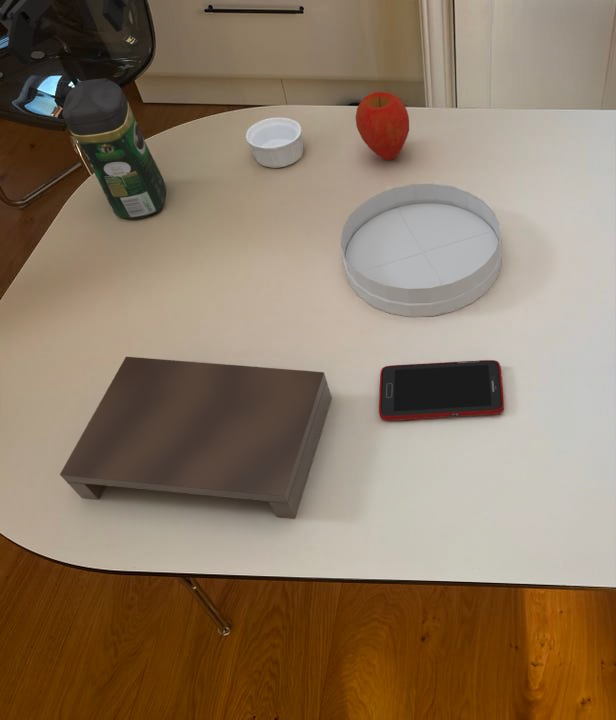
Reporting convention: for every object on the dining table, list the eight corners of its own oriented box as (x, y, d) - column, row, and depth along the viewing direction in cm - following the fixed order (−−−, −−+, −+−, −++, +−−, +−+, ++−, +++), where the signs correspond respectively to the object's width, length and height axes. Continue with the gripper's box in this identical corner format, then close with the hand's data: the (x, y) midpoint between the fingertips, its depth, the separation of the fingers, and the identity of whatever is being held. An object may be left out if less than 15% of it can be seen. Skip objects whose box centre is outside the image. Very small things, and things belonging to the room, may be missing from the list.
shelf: (81, 498, 77) (59, 474, 73) (142, 382, 87) (125, 356, 83) (295, 519, 75) (283, 496, 71) (332, 397, 85) (324, 371, 81)
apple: (351, 156, 116) (339, 95, 108) (391, 135, 120) (383, 75, 111) (383, 179, 112) (373, 118, 104) (424, 157, 115) (418, 96, 107)
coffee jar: (117, 187, 112) (61, 77, 98) (169, 179, 113) (121, 69, 99) (111, 225, 106) (51, 114, 92) (166, 217, 107) (114, 105, 93)
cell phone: (381, 370, 87) (380, 365, 86) (500, 363, 87) (500, 358, 86) (379, 422, 82) (377, 417, 81) (504, 415, 82) (504, 410, 82)
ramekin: (271, 135, 120) (264, 112, 117) (316, 145, 118) (311, 122, 115) (242, 164, 115) (234, 141, 112) (289, 175, 113) (282, 152, 110)
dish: (374, 338, 91) (368, 311, 87) (326, 235, 103) (319, 208, 100) (528, 286, 96) (530, 258, 92) (464, 194, 109) (463, 167, 105)
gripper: (173, -68, 101) (171, 32, 91) (22, -11, 104) (4, 91, 95) (139, -121, 94) (132, -19, 85) (-22, -58, 97) (-46, 46, 88)
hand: (64, 39), depth 90 cm, fingers open, 13 cm apart
